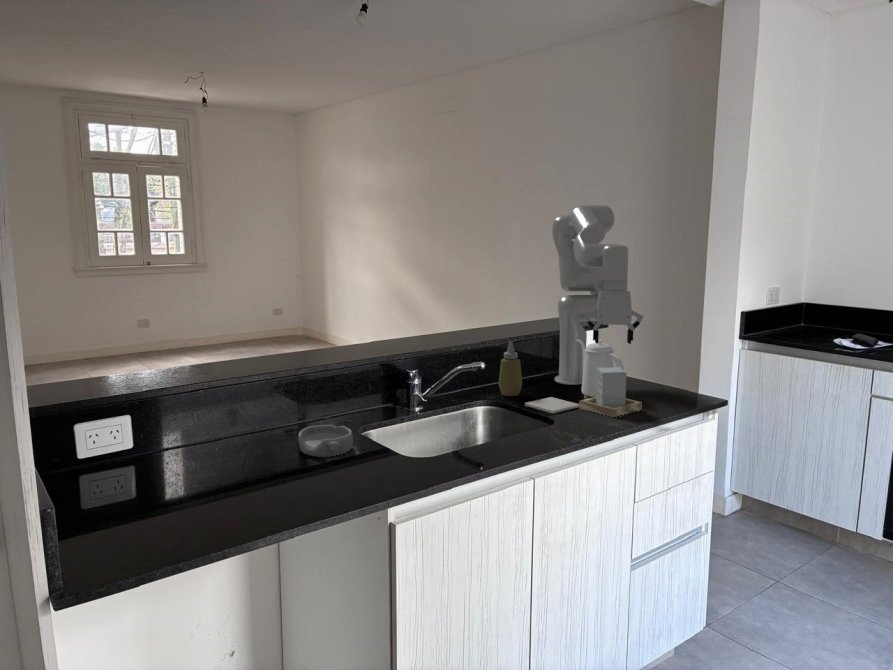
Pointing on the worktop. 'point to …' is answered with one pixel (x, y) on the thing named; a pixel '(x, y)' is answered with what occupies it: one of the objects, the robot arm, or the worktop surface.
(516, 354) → the squeeze bottle
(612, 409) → the wooden frame
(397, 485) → the worktop surface
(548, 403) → the tile
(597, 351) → the coffeepot
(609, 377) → the supplement box
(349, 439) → the dish
